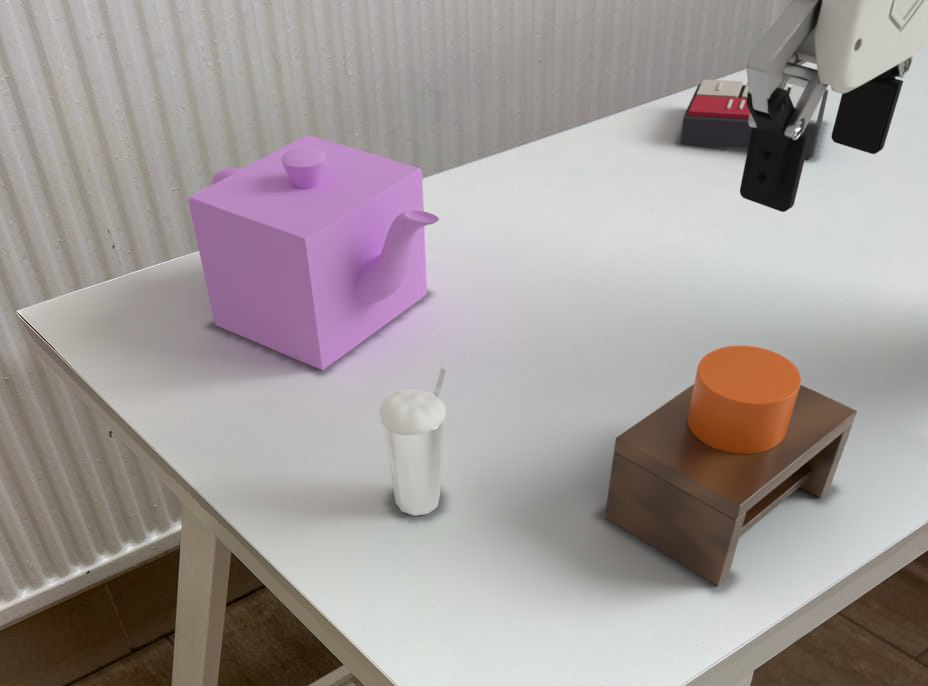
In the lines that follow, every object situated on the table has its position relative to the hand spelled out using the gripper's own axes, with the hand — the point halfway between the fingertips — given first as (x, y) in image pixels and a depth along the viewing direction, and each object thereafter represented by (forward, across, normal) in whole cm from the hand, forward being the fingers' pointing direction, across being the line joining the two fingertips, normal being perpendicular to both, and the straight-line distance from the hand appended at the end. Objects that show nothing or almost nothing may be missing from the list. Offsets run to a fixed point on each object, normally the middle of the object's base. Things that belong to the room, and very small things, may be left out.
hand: (812, 173), depth 57 cm
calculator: (+23, +53, +34) cm, 67 cm away
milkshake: (+22, -19, +15) cm, 33 cm away
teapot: (+22, -7, +40) cm, 46 cm away
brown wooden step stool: (+22, -4, -1) cm, 23 cm away
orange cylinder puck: (+15, -4, -1) cm, 16 cm away
